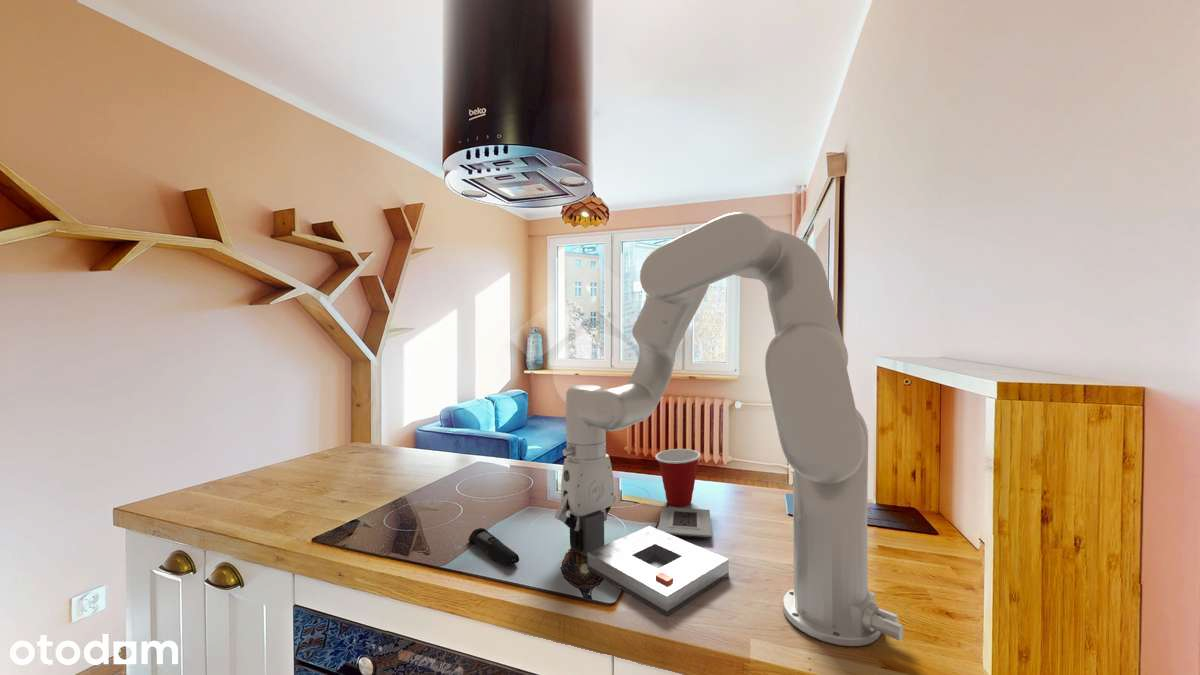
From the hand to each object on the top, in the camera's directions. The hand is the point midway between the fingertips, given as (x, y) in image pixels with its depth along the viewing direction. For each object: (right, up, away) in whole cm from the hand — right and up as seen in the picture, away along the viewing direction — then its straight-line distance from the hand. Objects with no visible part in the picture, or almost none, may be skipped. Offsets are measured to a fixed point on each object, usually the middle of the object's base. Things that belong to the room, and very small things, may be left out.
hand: (587, 543), depth 88 cm
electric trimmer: (-18, -2, -1) cm, 18 cm away
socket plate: (+12, -1, -9) cm, 15 cm away
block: (0, -1, 0) cm, 1 cm away
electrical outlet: (+20, -1, +9) cm, 22 cm away
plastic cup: (+21, -1, +23) cm, 31 cm away
